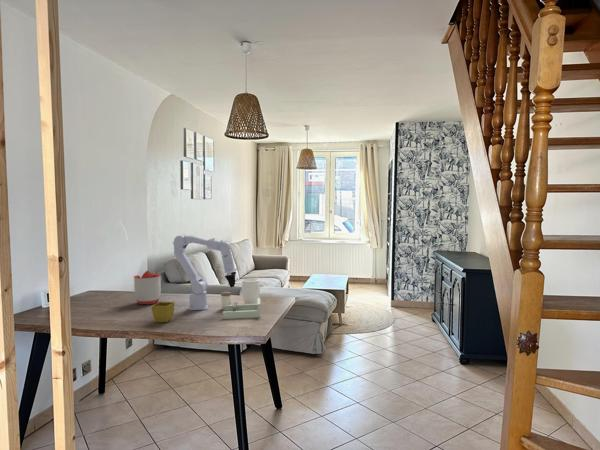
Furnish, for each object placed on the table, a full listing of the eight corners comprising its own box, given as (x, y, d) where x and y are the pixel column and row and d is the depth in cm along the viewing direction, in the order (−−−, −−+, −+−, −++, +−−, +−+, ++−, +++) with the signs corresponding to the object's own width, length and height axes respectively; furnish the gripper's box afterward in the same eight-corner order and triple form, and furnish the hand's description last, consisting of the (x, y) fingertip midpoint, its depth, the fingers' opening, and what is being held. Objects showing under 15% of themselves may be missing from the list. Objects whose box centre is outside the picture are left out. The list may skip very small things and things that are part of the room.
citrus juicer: (154, 298, 257) (153, 267, 256) (165, 302, 245) (164, 270, 244) (129, 302, 247) (128, 270, 246) (140, 307, 234) (139, 273, 233)
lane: (222, 318, 206) (222, 305, 206) (225, 311, 221) (225, 299, 221) (260, 317, 208) (260, 304, 208) (260, 310, 223) (260, 297, 223)
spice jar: (220, 310, 224) (220, 294, 224) (221, 307, 230) (221, 291, 230) (231, 309, 225) (230, 293, 225) (231, 307, 231) (231, 291, 230)
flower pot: (151, 323, 200) (150, 305, 200) (159, 318, 209) (159, 301, 208) (167, 323, 199) (167, 306, 199) (175, 319, 208) (175, 302, 207)
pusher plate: (233, 316, 209) (233, 307, 209) (234, 311, 220) (234, 302, 219) (236, 316, 209) (235, 307, 209) (237, 311, 220) (237, 302, 220)
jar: (261, 302, 241) (261, 278, 240) (258, 307, 230) (257, 281, 230) (244, 302, 242) (244, 278, 241) (240, 306, 231) (239, 281, 231)
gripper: (234, 262, 220) (239, 286, 221) (235, 260, 235) (240, 282, 235) (221, 265, 220) (226, 289, 220) (224, 262, 234) (228, 284, 234)
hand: (232, 285), depth 228 cm, fingers open, 7 cm apart
